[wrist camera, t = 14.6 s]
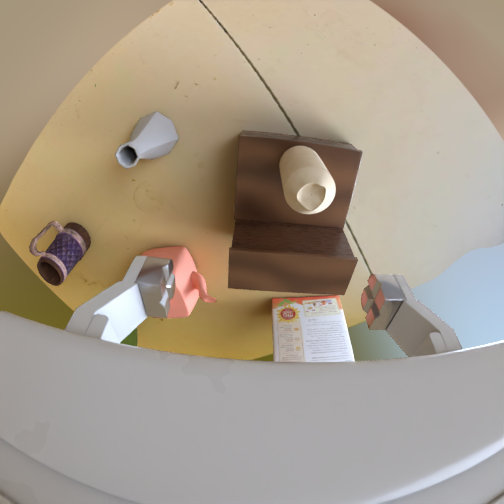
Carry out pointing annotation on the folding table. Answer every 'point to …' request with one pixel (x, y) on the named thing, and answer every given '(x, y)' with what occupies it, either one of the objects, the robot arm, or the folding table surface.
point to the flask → (148, 140)
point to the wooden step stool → (290, 220)
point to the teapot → (183, 280)
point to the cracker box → (310, 330)
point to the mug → (61, 251)
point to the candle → (306, 180)
